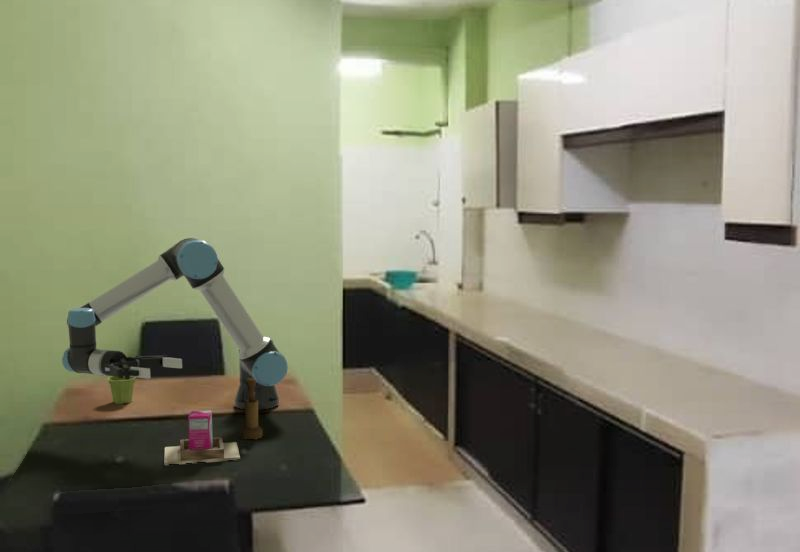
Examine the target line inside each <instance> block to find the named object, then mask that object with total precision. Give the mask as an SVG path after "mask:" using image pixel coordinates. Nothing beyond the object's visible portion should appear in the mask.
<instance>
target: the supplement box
mask: <svg viewBox="0 0 800 552" xmlns="http://www.w3.org/2000/svg"><path fill="white" fill-rule="evenodd" d="M212 413H213V412H212V410H192V411H190V413H189V414H188V417H187V419H188V421H187V423H188V439H189V449H190V450H203V449H213V438H214V437H213V414H212Z"/></svg>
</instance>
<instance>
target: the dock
mask: <svg viewBox="0 0 800 552" xmlns="http://www.w3.org/2000/svg"><path fill="white" fill-rule="evenodd" d="M179 441H180V442H179V443H180V445H177V446H165V447H164V457H163V458H164V459H163V464H164V465H165V466H170V465H169V464H179V465H187V464H186V463H192V464H198V463H197V462H206V463H217V462H229V461H228V460H233V461H238V460H237V459H240V460H241V456H240V452H239V447H238V442H235V441H233V442H223V441H224V440H223V437H222V436H219V437H218V436H217V437H213V449H203V450H190V449H189V438H187V439H185V438H184V439H180V440H179Z"/></svg>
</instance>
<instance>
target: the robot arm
mask: <svg viewBox="0 0 800 552" xmlns="http://www.w3.org/2000/svg"><path fill="white" fill-rule="evenodd" d="M214 248H215V247H213V246H212V244H210V243H209V242H207V241H205V240H203V239H202V240H201V239H199V238H194V237H188V238H183V239H182V240H179V241H178V242H177V243H175V244H174V245H172V246H171V247H170V248H168V249H167V250H166V251H164V252H163V253H160V254H159V255H158V258H157V260H155V261H154V262H153V263H150V264H149V265H148V266H146V267H144V268H143V269H141V270H139V271H137V272H136V273H135V274H133V275H131V276H130V277H128V278H126V279H125V280H123V281H122V282H120V283H118V284H116V285H115V286H113V287H112V288H110V289H108V290H107V291H105V292H104V293H102V294H100V295H98V296H97V297H95V298H93V299H92V300H91V301H88V302H87V303H85V304H83V306H80V307H77V308H72V309H70V310H68V312H67V318H66V325H67V328H68V340H69V347H68V348H67V349H66V350H64V352H63V356H62V359H61V362H62V366H63V368H64V369H65V370H67V371H68V372H71V373H72V372H74V373H76V374H86V375H87V374H89V375H99V376H100V377H101V378H102V377H103V378H104V376H108V377H111V376H115V377H118V378H123V376H125V380H128V379H130V377H129V376H131V377H136V379H138V378H139V379H148V380H149V379H151V367H163V368H172V369H183V359H182V358H178V357H177V358H176V357H169V355H166V353H165V354H163V355H144V356H143V355H135V357H134V356H127V355H126V354H125V353H124V352H123V351H120V350H113V349H112V350H111V349H98V348H97V333H96V332H97V331H96V327H97V326H98V325H100V324H102V323H103V322H105V321H107V320H108V319H110V318H111V317H113V316H115V315H116V314H118V313H119V312H121V311H122V310H124V309H126V308H127V307H129V306H131V305H132V304H135V302H137V301H140V300H141V299H142V298H144V297H146V296H147V295H148V294H150V293H152V292H154V291H155V290H156V289H158V288H159V287H161V286H163V285H165V284H166V283H168V282H170V281H177V280H179V279H180V278H182V277H184V278H185V279H186V281H187V283H188V284H189V285H190V287H191V288H192V289H193V290H198V291H200V293H201V294H202V296H203V297H204V299H205V300H206V302H207V303H208V305H209V306H210V307H211V309H212V310H213V313H215V315H216V316H217V318H218V319H219V321H220V323H221V324H222V325H223V327H224V328H225V330H226V331H227V333H228V334H229V337H231V339H232V340H233V342H234V344H235V345H236V346H237V348H238V353H239V354H238V359H239V362H238V363H239V384H238V388H237V390H236V394H235V396H234V397H235V398H234V407H235V406H236V407H237V409H239V408H240V410H243V409H245V400H248V399H249V397H248V392H249V388H248V387H247V385H246V381H247V379H248V378H254V379H255V380H256V386H255V387H254V392H255V397H254V399H256V400H258V411H264V410H263V409H266V410H270V409H269V408H271V409H274V408H276V407H275V406H277V405H278V404H279V405H280V397H279V394H278V392H277V388H276V385H278V384H280V383H281V382H283V380H284V379H285V377H286V375H287V373H288V362H287V359H286V357H285V356H284V354H282V353H281V352H279V350H278V348H277V346H276V345H275V343H274V340H273V339H272V338H270V337H269V336H264V335H263V334H262V332H261V331H260V329H259V328H258V327H257V325H256V323H255V322H254V321H253V319H252V317H251V316H250V314H249V313H248V311H247V310H246V309H245V307H244V305H243V304H242V302H241V301H240V299H239V297H238V296H237V294H236V293H235V291H234V290H233V288H232V286H231V285H230V284H229V282H228V281H227V279H226V278H225V276H224V274H225V267H224V266H223V264H222V262H221V261H220V259H219V258H218V254H217V252H216V250H215V249H214ZM279 405H278V406H279ZM278 406H277V407H278ZM236 407H235V408H236ZM273 407H274V408H273Z"/></svg>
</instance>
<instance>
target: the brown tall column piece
mask: <svg viewBox="0 0 800 552" xmlns="http://www.w3.org/2000/svg"><path fill="white" fill-rule="evenodd" d="M246 385H247V387H248V388H249V392H248V397H249V399H248V400H245V410H244V426H243V427H242V428H241V429H240V438H241V439H242V438H244V439H243V440H247V439H254V440H257V439H256V438H260V437H262V436H264V433H263V432H264V431H263V428H262V427H261V426H260V425H259V410H258V400H256V399H254V397H255V392H254V387H255V386H256V380H255V379H254V378H248V379H247V381H246ZM262 438H263V437H262ZM260 439H261V438H260Z"/></svg>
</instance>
